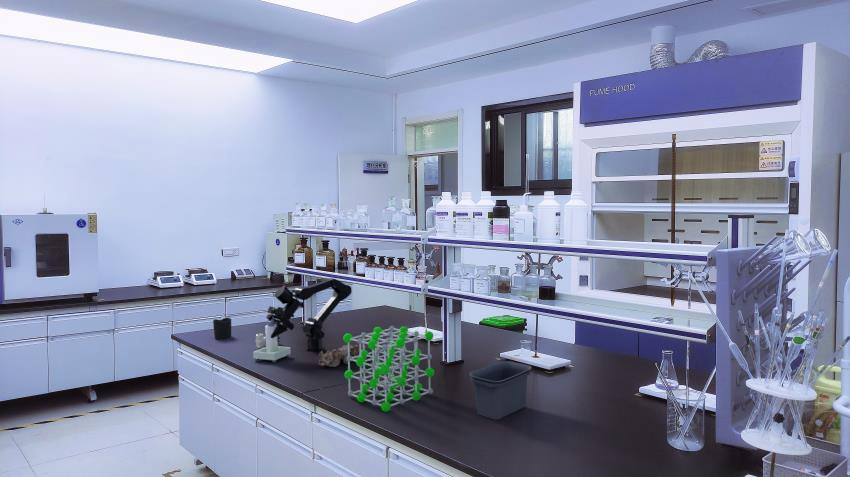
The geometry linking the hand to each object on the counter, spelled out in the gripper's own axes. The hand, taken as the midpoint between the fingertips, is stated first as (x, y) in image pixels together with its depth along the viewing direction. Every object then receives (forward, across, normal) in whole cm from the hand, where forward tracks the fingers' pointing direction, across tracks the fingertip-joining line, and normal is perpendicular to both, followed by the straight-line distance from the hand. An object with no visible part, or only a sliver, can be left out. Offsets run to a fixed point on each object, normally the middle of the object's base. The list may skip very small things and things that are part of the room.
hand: (268, 336), depth 268 cm
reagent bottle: (+4, 0, +6) cm, 7 cm away
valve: (0, -26, +15) cm, 31 cm away
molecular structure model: (0, +80, +16) cm, 81 cm away
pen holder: (+7, -61, +8) cm, 62 cm away
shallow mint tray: (+7, 0, +9) cm, 11 cm away
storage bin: (-13, +117, +29) cm, 122 cm away
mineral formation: (-7, +29, +23) cm, 38 cm away
